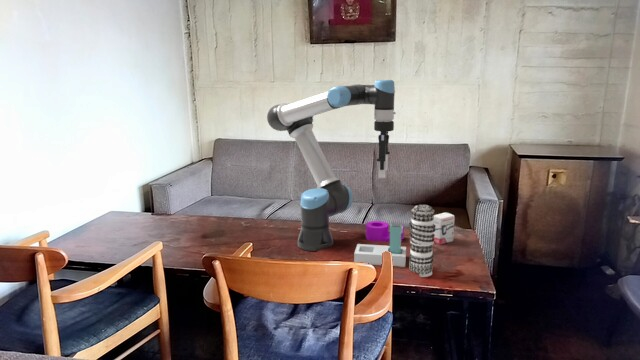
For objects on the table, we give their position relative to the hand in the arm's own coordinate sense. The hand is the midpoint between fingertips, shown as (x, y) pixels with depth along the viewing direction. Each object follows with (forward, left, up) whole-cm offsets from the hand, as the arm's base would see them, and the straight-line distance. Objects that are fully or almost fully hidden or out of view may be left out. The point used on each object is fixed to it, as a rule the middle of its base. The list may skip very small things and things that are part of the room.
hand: (383, 174), depth 187 cm
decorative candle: (+16, -21, -32) cm, 41 cm away
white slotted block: (0, -14, -32) cm, 35 cm away
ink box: (+25, +13, -32) cm, 43 cm away
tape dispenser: (0, +12, -32) cm, 35 cm away
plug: (+6, -14, -31) cm, 34 cm away
